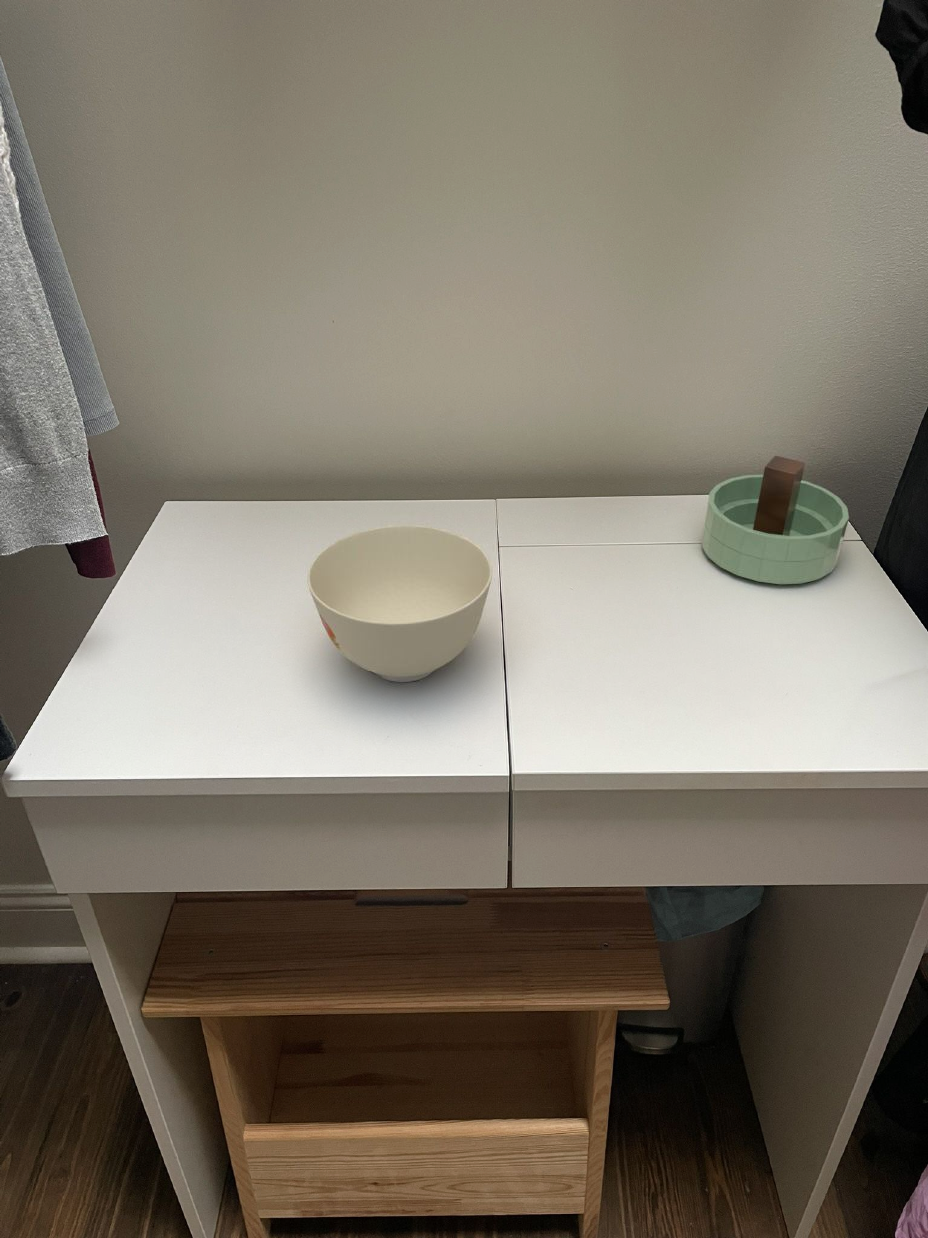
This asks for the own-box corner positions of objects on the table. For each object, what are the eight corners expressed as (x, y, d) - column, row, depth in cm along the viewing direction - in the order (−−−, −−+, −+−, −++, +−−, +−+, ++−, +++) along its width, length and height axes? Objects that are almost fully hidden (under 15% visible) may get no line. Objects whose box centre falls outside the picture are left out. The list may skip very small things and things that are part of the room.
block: (787, 545, 103) (805, 462, 98) (777, 558, 101) (795, 474, 95) (758, 537, 105) (775, 455, 99) (748, 550, 103) (764, 466, 97)
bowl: (505, 708, 82) (508, 613, 77) (320, 727, 80) (309, 632, 75) (475, 605, 95) (475, 518, 89) (315, 620, 93) (305, 532, 87)
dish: (864, 572, 100) (878, 522, 97) (752, 600, 96) (762, 549, 92) (780, 512, 111) (790, 465, 107) (676, 535, 107) (683, 487, 103)
